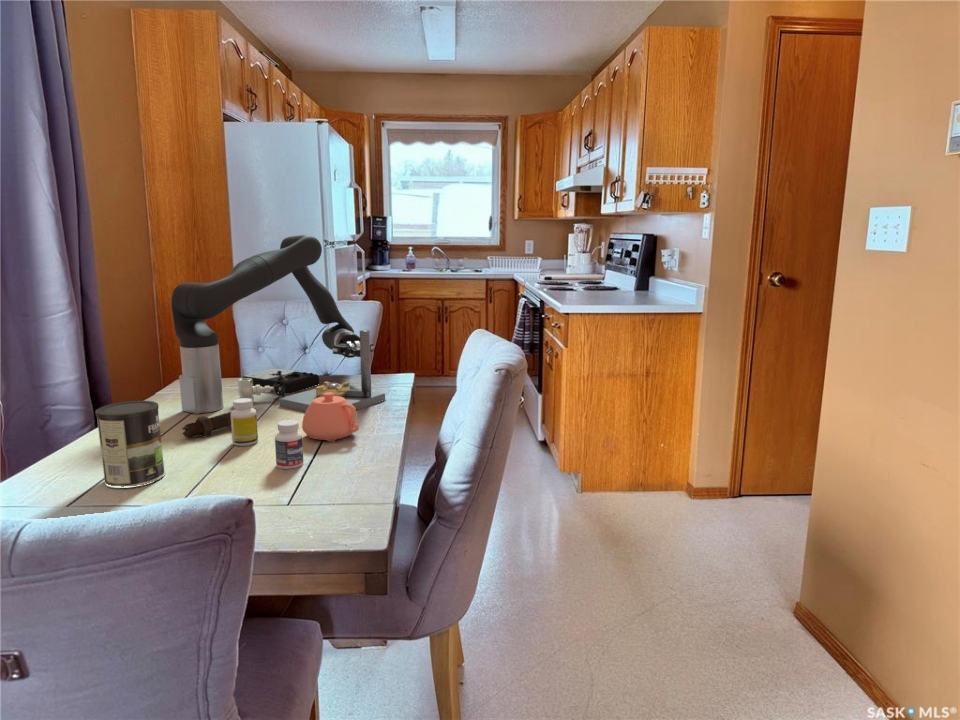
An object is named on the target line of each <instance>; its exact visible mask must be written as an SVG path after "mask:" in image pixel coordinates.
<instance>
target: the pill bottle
mask: <svg viewBox="0 0 960 720" xmlns="http://www.w3.org/2000/svg"><path fill="white" fill-rule="evenodd" d="M299 425H300V424H299V421H298V420H296V419H285V420H284V419H283V420H280V421H278V422H277V431H278V432H277V433H276V434H275V436H274V445H275V462H276V463H275V464H276V467H277V468H279V469H283V470H290V469H292V468H293V469H297V468H300V467H302V466H303V464H304V446H303V445H304V443H303V434H302V432H301V431H299V428H300V427H299Z"/></svg>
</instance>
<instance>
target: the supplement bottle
mask: <svg viewBox="0 0 960 720" xmlns="http://www.w3.org/2000/svg"><path fill="white" fill-rule="evenodd" d="M253 403H254V402H253ZM253 403H252V399H249V398H241V399H239V398H236V399H234V400H233V401H232V407H233V410H231V411H232V412H231V411H230V412H231V426H230V429H231V441H232V442H231V443H232V445H234V446H237V447H247V446H252V445H254V444H256V443H258V441H259V433H258V418H257V417H258V416H257V411H256V409H255V408H253ZM234 408H235V409H234Z"/></svg>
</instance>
